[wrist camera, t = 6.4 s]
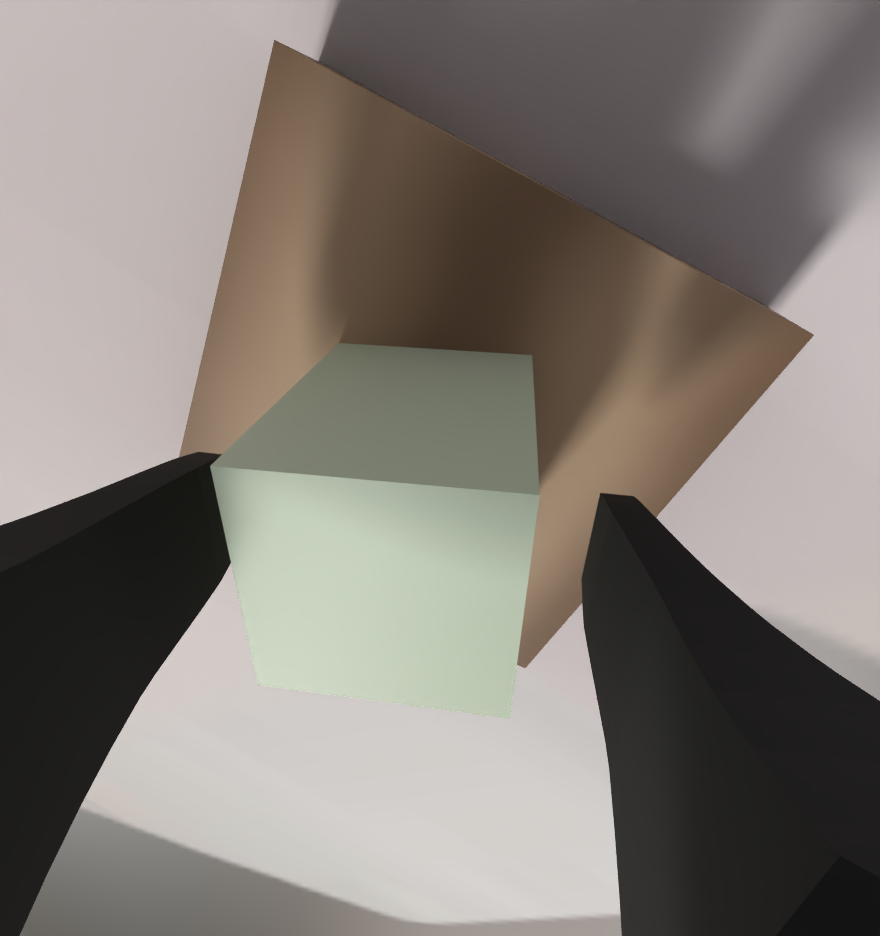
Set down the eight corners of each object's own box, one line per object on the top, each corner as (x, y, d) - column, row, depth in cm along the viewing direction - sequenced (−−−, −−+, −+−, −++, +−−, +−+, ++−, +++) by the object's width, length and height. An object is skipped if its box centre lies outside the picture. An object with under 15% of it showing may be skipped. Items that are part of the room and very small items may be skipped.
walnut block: (759, 302, 14) (814, 334, 11) (525, 601, 20) (525, 668, 17) (326, 65, 12) (274, 39, 10) (217, 461, 18) (167, 509, 16)
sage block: (532, 354, 12) (539, 495, 7) (514, 518, 14) (509, 718, 9) (338, 342, 13) (210, 465, 7) (350, 503, 15) (257, 685, 10)
